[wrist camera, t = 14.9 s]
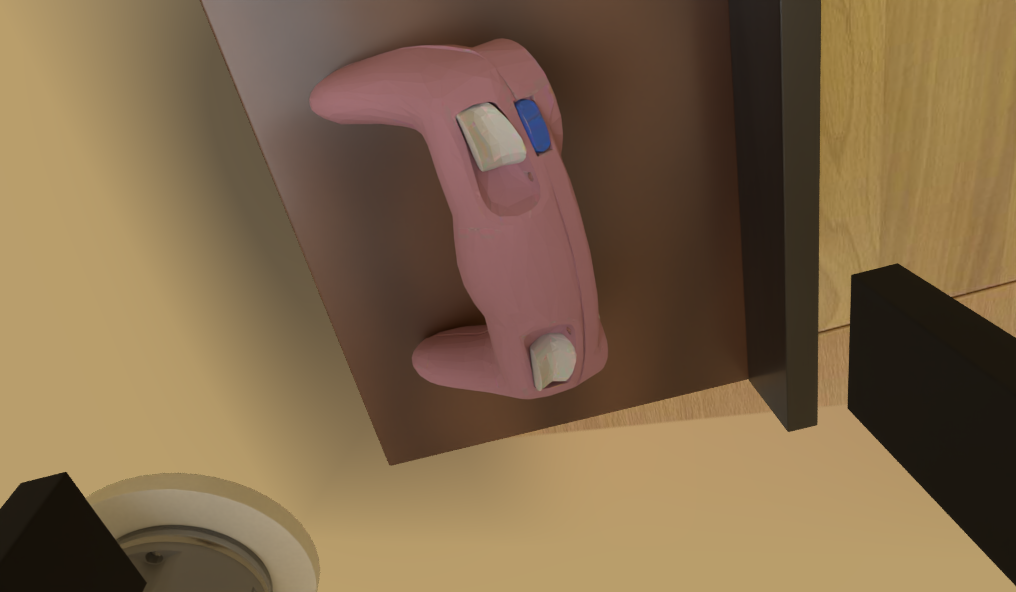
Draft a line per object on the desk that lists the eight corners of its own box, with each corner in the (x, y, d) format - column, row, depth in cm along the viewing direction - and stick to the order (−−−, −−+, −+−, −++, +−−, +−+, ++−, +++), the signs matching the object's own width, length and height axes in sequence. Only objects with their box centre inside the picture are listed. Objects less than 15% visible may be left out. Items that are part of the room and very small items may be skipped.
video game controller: (520, 313, 23) (660, 393, 17) (409, 376, 21) (524, 486, 16) (437, 24, 18) (591, 5, 13) (287, 74, 17) (388, 78, 11)
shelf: (391, 440, 25) (383, 530, 21) (183, -86, 17) (104, -102, 13) (756, 351, 25) (818, 425, 21) (730, -225, 17) (824, -285, 13)
